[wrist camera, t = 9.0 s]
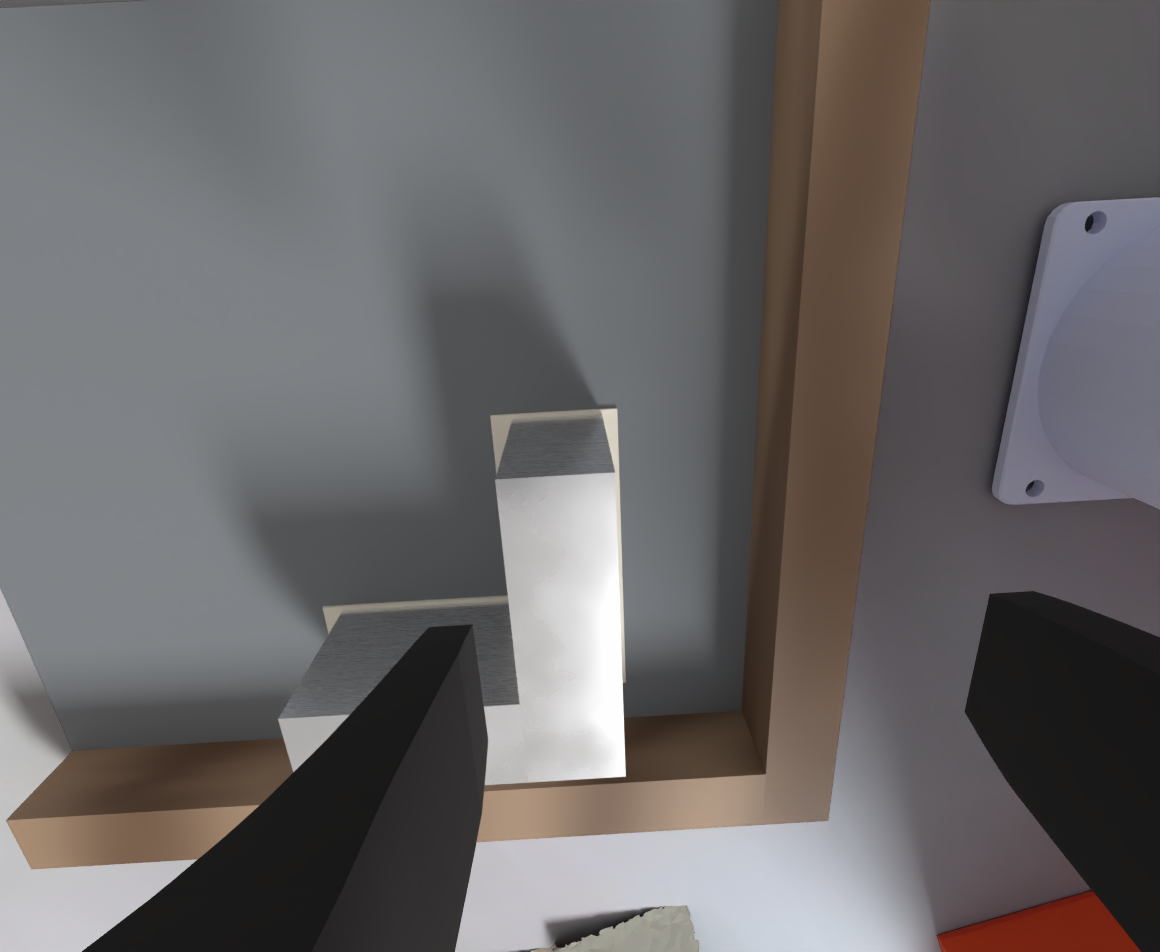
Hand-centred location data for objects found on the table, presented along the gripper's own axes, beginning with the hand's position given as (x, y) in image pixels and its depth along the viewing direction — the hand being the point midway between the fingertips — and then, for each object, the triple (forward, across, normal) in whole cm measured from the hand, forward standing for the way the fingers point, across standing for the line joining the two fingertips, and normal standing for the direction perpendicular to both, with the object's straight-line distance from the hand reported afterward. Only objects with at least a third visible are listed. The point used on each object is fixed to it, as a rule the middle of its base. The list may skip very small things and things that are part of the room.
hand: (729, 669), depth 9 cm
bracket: (+9, +5, +3) cm, 11 cm away
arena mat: (+9, +7, 0) cm, 12 cm away
